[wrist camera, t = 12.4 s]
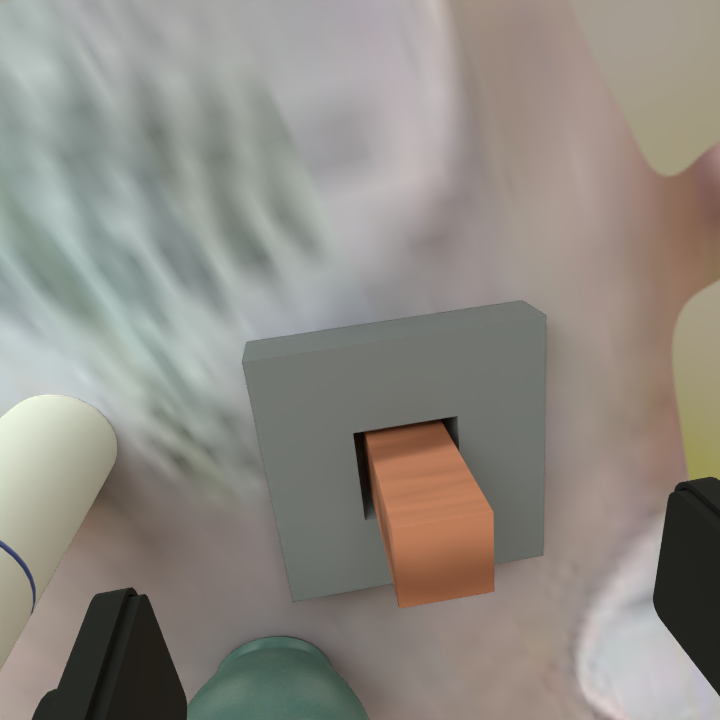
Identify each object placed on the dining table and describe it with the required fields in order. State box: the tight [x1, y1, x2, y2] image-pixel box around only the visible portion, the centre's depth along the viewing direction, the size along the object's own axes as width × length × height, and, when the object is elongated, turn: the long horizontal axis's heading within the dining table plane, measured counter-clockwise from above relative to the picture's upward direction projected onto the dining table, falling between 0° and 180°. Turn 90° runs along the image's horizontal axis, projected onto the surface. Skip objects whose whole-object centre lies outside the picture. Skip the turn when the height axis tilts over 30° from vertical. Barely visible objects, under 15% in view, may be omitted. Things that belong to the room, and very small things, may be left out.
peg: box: [362, 419, 494, 608], centre depth 33 cm, size 5×5×12 cm
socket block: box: [242, 301, 546, 602], centre depth 36 cm, size 18×18×4 cm
